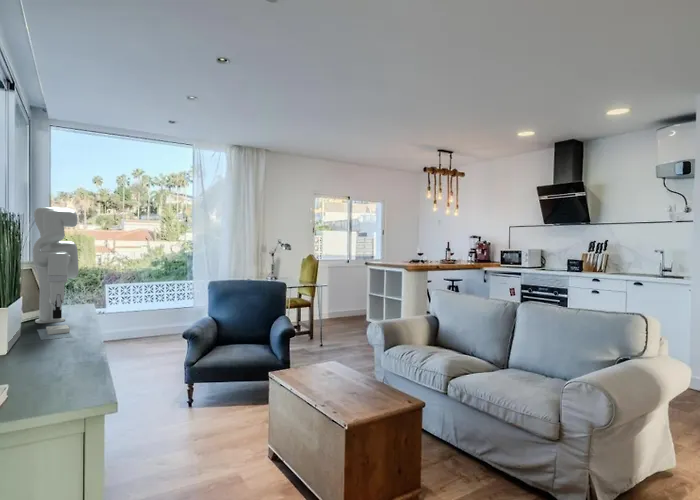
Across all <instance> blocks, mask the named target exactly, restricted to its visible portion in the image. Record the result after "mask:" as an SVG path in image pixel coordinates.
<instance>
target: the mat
mask: <svg viewBox="0 0 700 500" xmlns="http://www.w3.org/2000/svg"><path fill="white" fill-rule="evenodd" d="M36 331H37V333H38V335H39V338H40V340H41V341H45V340H48V341H51V340H55V339H58V340H59V339H64V338H66V339H69V338H73V336H72V334H71V333H70V332H69V333H59V334H50V335H48V334H47V332H46V328H40V329H36Z"/></svg>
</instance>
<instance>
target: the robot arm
mask: <svg viewBox="0 0 700 500" xmlns="http://www.w3.org/2000/svg"><path fill="white" fill-rule="evenodd" d="M33 216H34V217H33V218H34V221H35V225H36V227H37V229H38V232H39V236H40V237H39V238H38V239H36V241H35V243H34V245H33V248H32V253H33V254H32V257H33V258H32V259H33V264H34V266H36V267H37V275H38V283H39V285H38V287H39V296H38V297H39V302H38V305H39V306H38V307H39V312H38V314H39V315H38V318H36V319H35V323H36V324H55V323H61V322H65V321H66V318H65V317H63V315H62V313H63V311H62V308H63V306H62V305H63V304H64V301H65V283H68V279H75V278H77V277H78V276H79V272H80V271H79V270H80V269H79V254H78V252H79V251H78V247H77V244H76V243H75V242H74V241H65V240H64V239H65V237H66V236H65V235H66V234H65V228H67V227H70V228H75V227H76V226H77V225H78V221H79V220H78V214H77V213H76V211H75V210H74V209H72V208H66V207H49V206H47V207H46V206H44V207H43V206H42V207H37V208H36V209H35V210H34V215H33ZM63 240H64V241H63Z"/></svg>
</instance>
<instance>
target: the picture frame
mask: <svg viewBox="0 0 700 500" xmlns="http://www.w3.org/2000/svg"><path fill="white" fill-rule="evenodd" d="M45 329H46V332H47V334H48V335H50V334H59V333H70V330H71V329H70V326H69V325H68V324H61V325H59V324H58V325H50V326H45Z"/></svg>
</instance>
